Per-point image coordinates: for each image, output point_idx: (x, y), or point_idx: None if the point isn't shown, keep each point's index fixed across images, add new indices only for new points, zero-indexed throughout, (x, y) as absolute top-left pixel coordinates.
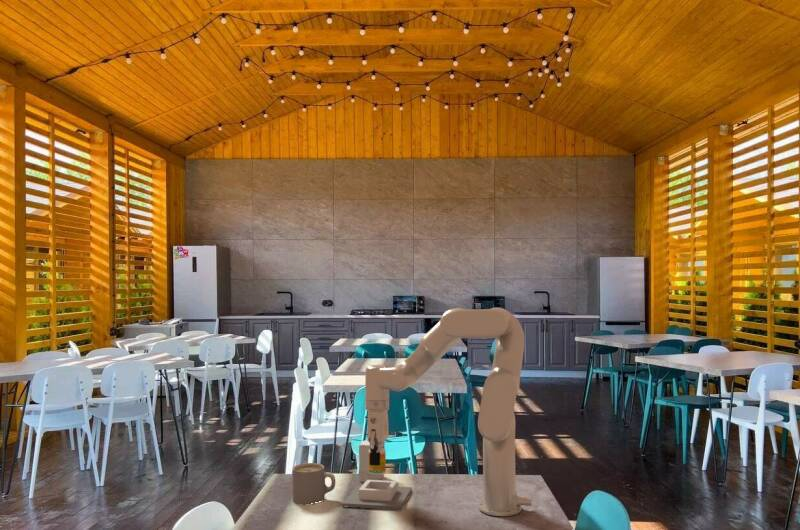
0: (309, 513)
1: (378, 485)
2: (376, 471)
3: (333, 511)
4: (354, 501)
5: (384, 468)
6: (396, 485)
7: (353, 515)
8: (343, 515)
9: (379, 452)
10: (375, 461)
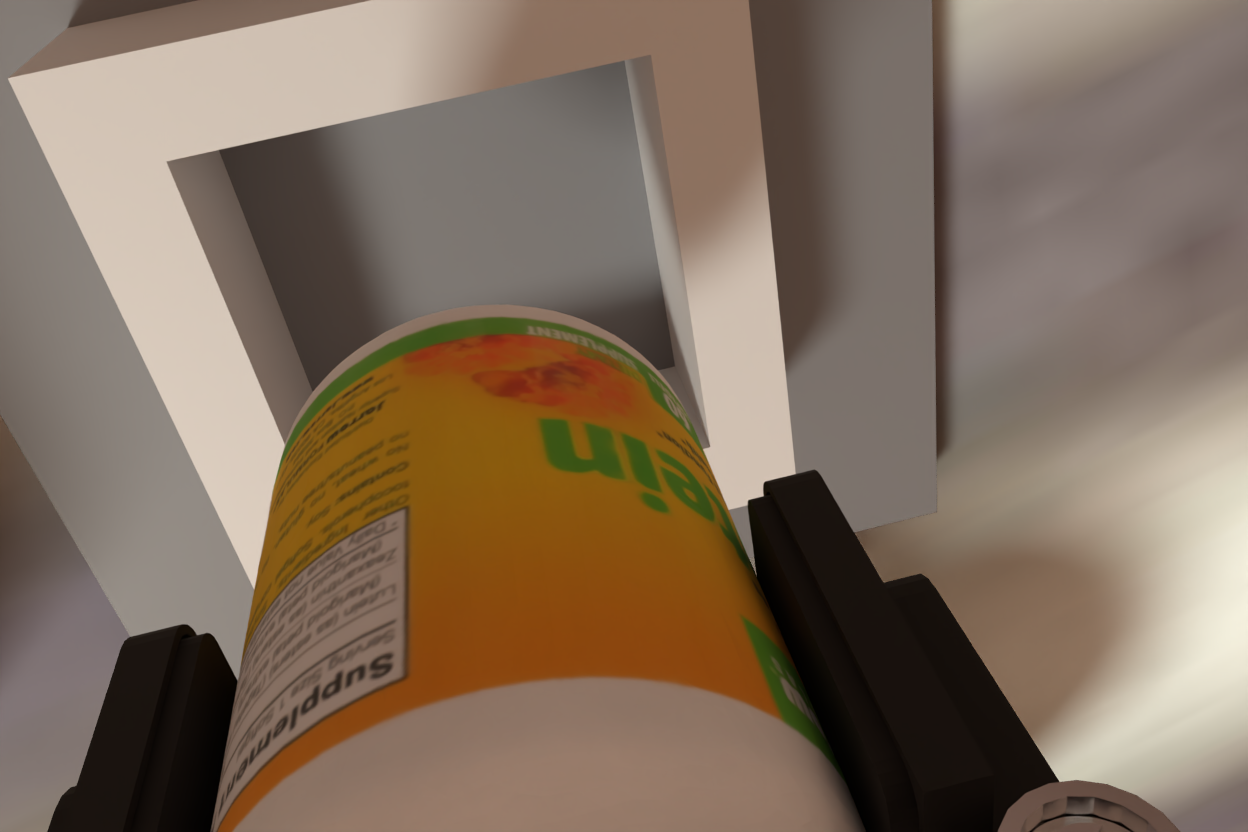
0: (1139, 654)
1: (277, 378)
2: (703, 453)
3: (1061, 499)
4: (845, 422)
5: (518, 357)
6: (101, 43)
7: (1171, 235)
8: (1176, 343)
9: (971, 788)
10: (936, 616)
